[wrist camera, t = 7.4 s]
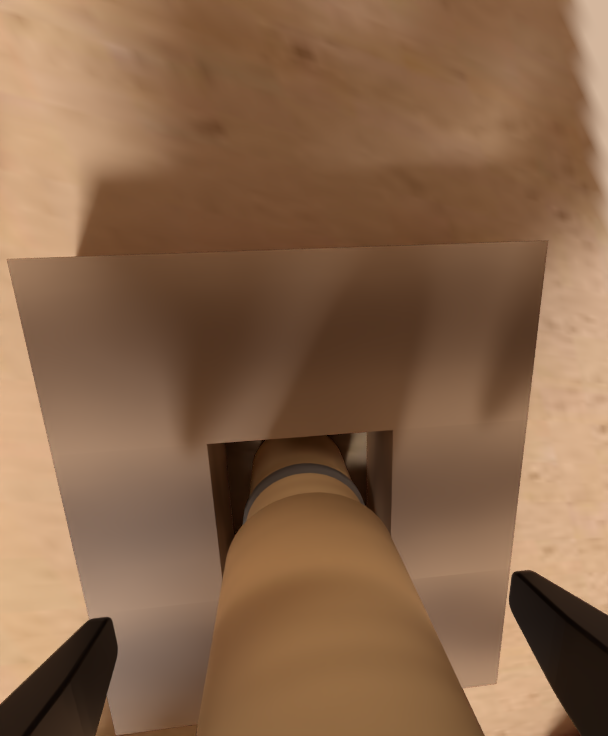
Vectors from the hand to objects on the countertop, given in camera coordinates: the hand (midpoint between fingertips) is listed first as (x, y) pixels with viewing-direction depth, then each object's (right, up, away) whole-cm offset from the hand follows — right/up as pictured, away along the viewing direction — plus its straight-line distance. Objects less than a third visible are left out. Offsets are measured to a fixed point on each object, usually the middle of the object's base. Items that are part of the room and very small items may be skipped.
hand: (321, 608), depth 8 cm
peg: (-1, +1, +6) cm, 6 cm away
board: (-1, +1, +6) cm, 6 cm away
